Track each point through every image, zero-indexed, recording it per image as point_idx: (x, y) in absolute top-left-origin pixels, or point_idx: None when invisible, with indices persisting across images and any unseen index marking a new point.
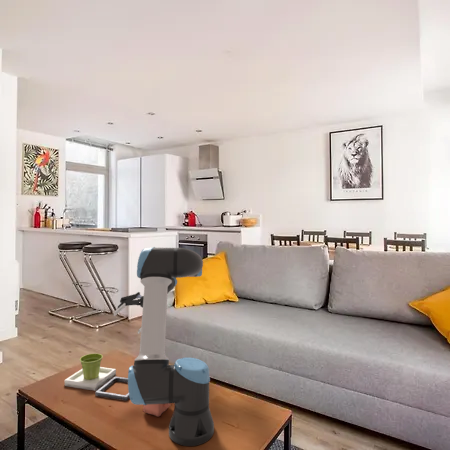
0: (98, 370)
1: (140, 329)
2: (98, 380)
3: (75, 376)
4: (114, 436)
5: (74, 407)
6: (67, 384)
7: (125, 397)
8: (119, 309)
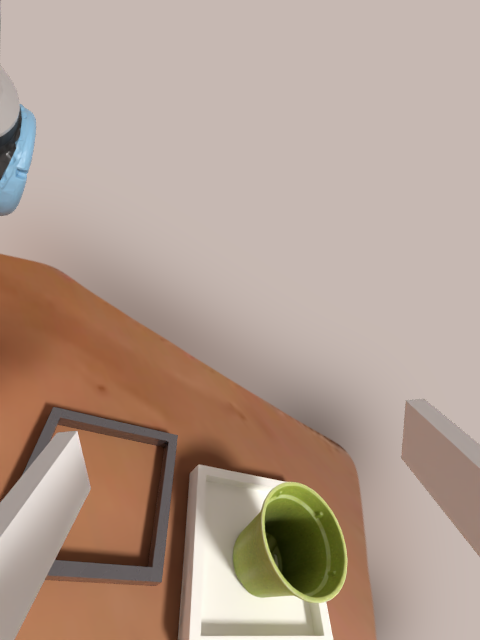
0: (243, 552)
1: (55, 439)
2: (204, 497)
3: None
4: (50, 283)
5: (195, 386)
6: None
7: (57, 409)
8: (446, 444)
